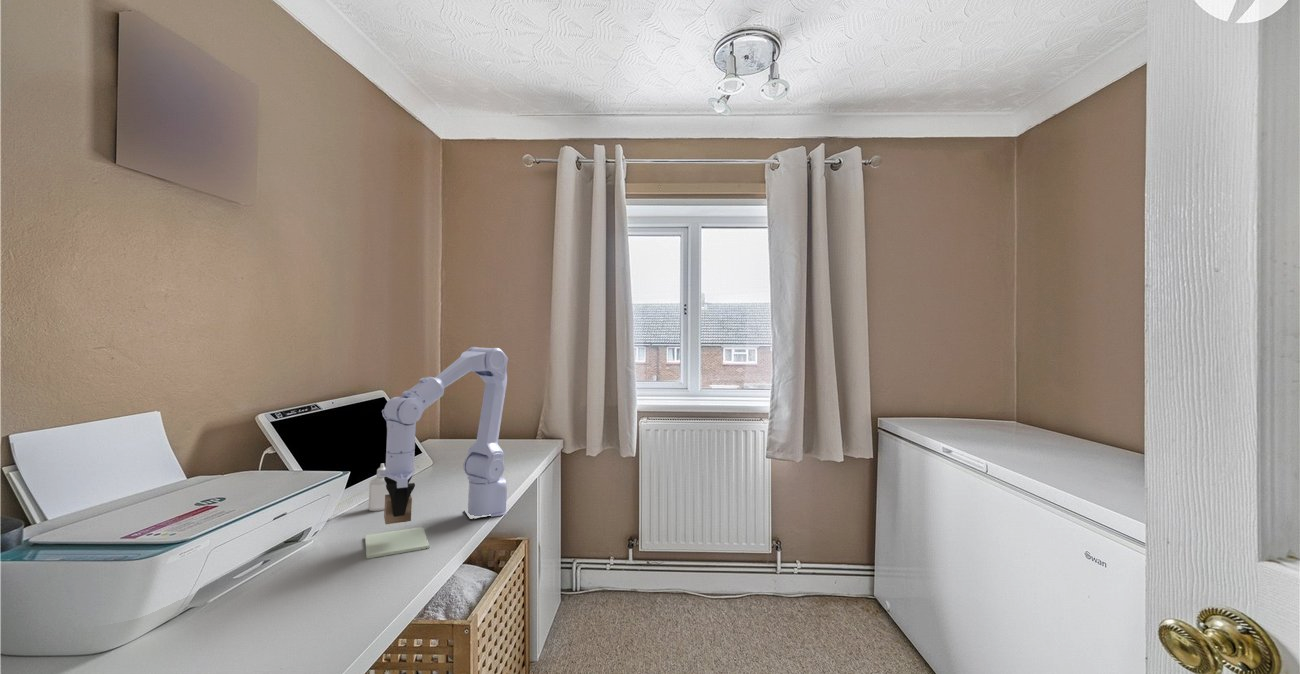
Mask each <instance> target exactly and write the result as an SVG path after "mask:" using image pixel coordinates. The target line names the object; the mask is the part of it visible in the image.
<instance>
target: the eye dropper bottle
mask: <svg viewBox="0 0 1300 674" xmlns="http://www.w3.org/2000/svg"><path fill="white" fill-rule="evenodd" d="M385 469H386V466H385V463H384V462H383V463H380V466H379V467H378V468H377V469H376V477H375V478H372V479H371V480H370V481H369V487H368V510H369V512H378V511H384V509H385V495H389V492H388V491H387V489H386V482H385V480H384V477H386V476H379V472H380V471H385Z"/></svg>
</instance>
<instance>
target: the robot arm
mask: <svg viewBox="0 0 1300 674" xmlns="http://www.w3.org/2000/svg"><path fill="white" fill-rule="evenodd" d="M508 361H509V357H508V356H507V355H506V353H505V352H504V351H503V350H502V348H499V347H491V348H490V347H478V346H472V347H469V348H468V349H467V350H465V351H463V352H462V353H461V355H460V357H458V358H457V359H456V360H455V361H453V362H452V363H451V364H449V365H448V367H446V368H445V369H443V370H442V371H441V372H440V373H438V375H436V376H435V377H433V376H426V377H421V378H420V379H419V380H418V383H417V384H415V385H413V387H412V386H411V388H410V389H408V390H404V391H403V392H402V393H401V394H402V395H401V396H394V397H392V398H390V399H389V400H388V401H387V402H386V404H385V406H384V408H383V409H382V410H381V413H382V417H383V418H384V420H385V422H386V449H385V450H386V452H385V468H386V469H385V471H380V472H379V476H386V477H384V480H385V482H386V489H387V491H388V492H389V495H390V497H391V503H392V511H393V515H394V517H396V516H404V514H405V512H406V508H407V504H408V500H409V497H410V495H411V494H412V492H413V490H414V489H415V487H416V484H415V482H411V480H412V478H413V475H414V474H415V473H416V472H415V455H416V454H415V452H416V451H415V449H416V429H417V424H416V423H417V422H418V421H420V420H421V418H422V416H423V412H424V411H425V410H426V409H427V408H429V407H430V406H432V405H433V404H434V403H435V402H436V401H437V400H439V399H440V398H442V397H443V396H444V394H445V388H447V387H449V386H450V385H452V384H453V383H455V382H457V380H459V379H461V378H462V377H463V376H465V375H467V374H468V373H471V372H473V373H474V374H476V375H477V376H479V377H480V379H481V380H482V381H483V383H485V384H484V389H483V390H484V391H483V397H482V403H481V410H480V417H479V422H478V430H477V434H476V442H474V443H473V444H472V445H471V446H470V447H469V448H468V452H467V455H466V457H465V458H464V461H463V465H462V466H463V467H462V469H463V471H464V473H465V474H466V475H467V480H468V494H467V495H468V500H467V508H468V513H469V514H470V515H474V516H482V515H489V514H491V517H490V518H494V517H499V516H506V515H507V497H508V496H507V492H508V491H507V489H508V488H507V486H508V485H507V481H506V478H505V477H502V476H503V473H504V472H505V466H506V465H505V461H504V456H505V453H504V451H503V449H502V448H501V446H500V445H499V437H500V432H501V431H500V430H501V423H502V418H503V410H504V403H505V399H506V398H505V396H506V392H507V391H506V390H507V386H508V385H507V383H508V372H507V368H508V367H507V366H508ZM411 496H412V495H411Z"/></svg>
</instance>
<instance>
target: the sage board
mask: <svg viewBox="0 0 1300 674" xmlns="http://www.w3.org/2000/svg"><path fill="white" fill-rule="evenodd" d="M364 540H365V554H366V555H365V556H366V559H367V560H368V559H372V558H379V557H380V558H381V557H386V556H390V555H392V556H393V555H396V554H397V555H398V554H402V553H407V552H408V553H409V552H415V551H419V550H421V549H422V550H427V549H430V543H429V541H428V538H427V534H426V531H425V529H424V527H423V526H419V527H413V528H407V529H400V530H394V531H385V532H379V533H372V534H366V535H364ZM426 548H427V549H426Z"/></svg>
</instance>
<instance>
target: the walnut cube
mask: <svg viewBox="0 0 1300 674" xmlns="http://www.w3.org/2000/svg"><path fill="white" fill-rule="evenodd" d="M412 502H413V496H412V495H410V497H409V500H408V504H407V508H406V512H405V514H404V516H396V517H394V515H393V511H392V503H391V497H390V495H385V509H384V510H383V512H384V514H383V518H384V523H385V525H391V524H392V525H393V524H398V523H399V524H400V523H407V522H411V521H412V508H413V507H412V505H413V503H412Z"/></svg>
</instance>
